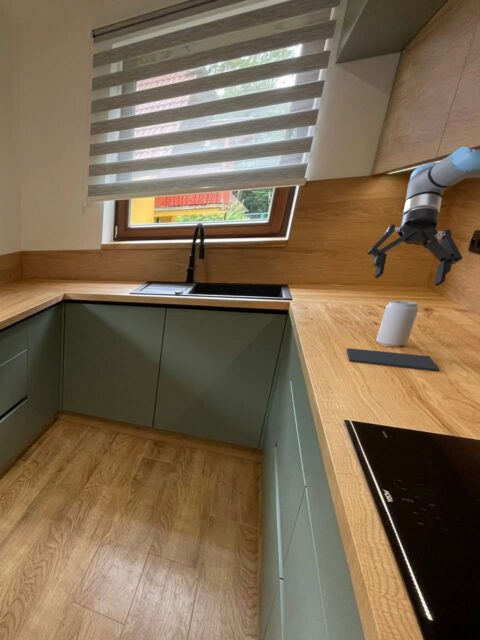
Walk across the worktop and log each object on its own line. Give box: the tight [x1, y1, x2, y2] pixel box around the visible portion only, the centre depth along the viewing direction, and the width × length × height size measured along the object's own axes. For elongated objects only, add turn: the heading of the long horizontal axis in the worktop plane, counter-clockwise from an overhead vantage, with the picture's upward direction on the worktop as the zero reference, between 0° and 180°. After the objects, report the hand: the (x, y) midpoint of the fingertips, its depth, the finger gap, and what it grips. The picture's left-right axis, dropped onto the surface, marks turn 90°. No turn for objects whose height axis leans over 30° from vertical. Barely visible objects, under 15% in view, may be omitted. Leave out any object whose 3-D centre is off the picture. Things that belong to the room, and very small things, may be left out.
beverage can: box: [375, 300, 419, 348], centre depth 119 cm, size 6×6×12 cm
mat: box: [346, 347, 441, 372], centre depth 108 cm, size 16×12×1 cm
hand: (408, 279), depth 122 cm, fingers open, 13 cm apart
